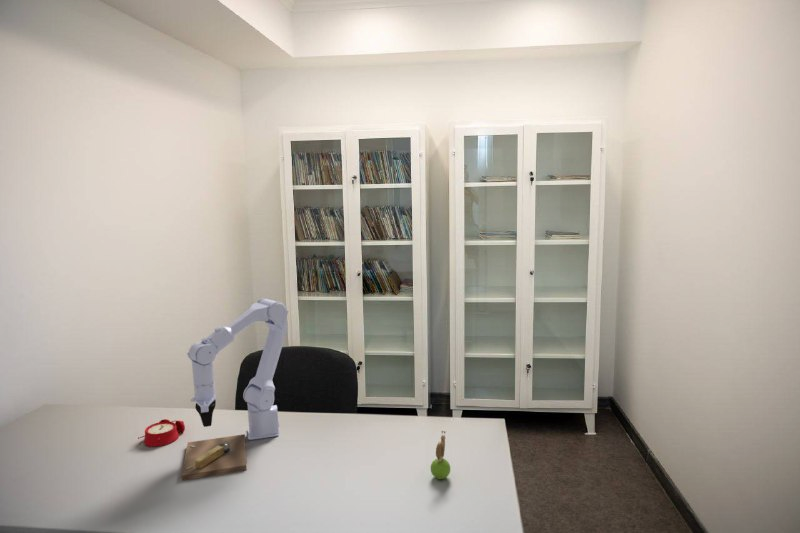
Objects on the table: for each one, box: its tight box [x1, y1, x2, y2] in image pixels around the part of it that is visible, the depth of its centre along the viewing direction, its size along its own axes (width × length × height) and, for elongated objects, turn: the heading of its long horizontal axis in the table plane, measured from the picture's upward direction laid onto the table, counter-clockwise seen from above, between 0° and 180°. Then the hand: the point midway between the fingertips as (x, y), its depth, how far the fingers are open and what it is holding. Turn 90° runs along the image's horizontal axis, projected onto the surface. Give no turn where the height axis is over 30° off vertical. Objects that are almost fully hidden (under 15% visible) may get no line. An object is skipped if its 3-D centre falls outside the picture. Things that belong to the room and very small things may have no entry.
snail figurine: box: [430, 430, 451, 480], centre depth 145 cm, size 5×6×12 cm
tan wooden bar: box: [195, 441, 230, 469], centre depth 154 cm, size 12×3×2 cm, turn 155°
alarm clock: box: [137, 418, 186, 448], centre depth 172 cm, size 10×6×15 cm
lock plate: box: [181, 434, 247, 481], centre depth 158 cm, size 17×20×2 cm
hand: (207, 425), depth 160 cm, fingers closed
